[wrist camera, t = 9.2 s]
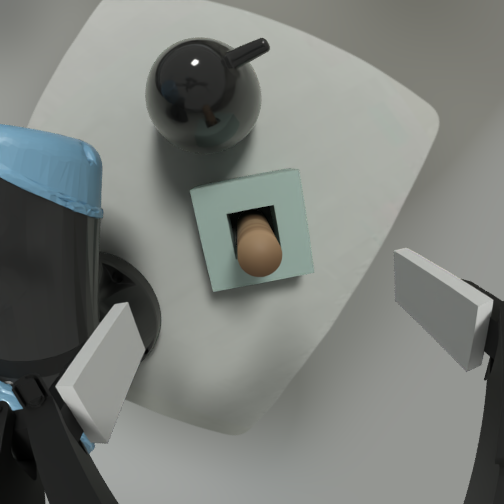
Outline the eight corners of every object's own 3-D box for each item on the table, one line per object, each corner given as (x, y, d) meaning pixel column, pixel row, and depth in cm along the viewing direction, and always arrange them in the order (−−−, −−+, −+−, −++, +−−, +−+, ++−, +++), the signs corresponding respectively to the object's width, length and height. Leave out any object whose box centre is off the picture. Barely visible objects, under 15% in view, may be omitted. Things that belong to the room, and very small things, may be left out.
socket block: (216, 274, 36) (213, 291, 31) (196, 186, 33) (189, 190, 28) (304, 257, 36) (314, 272, 31) (289, 168, 33) (298, 169, 28)
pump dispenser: (275, 131, 32) (305, 108, 17) (183, 170, 33) (143, 177, 18) (237, 49, 29) (238, -22, 15) (148, 88, 30) (90, 44, 15)
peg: (234, 212, 34) (233, 238, 23) (264, 206, 34) (278, 230, 23) (240, 240, 35) (242, 280, 24) (269, 235, 35) (285, 272, 24)
